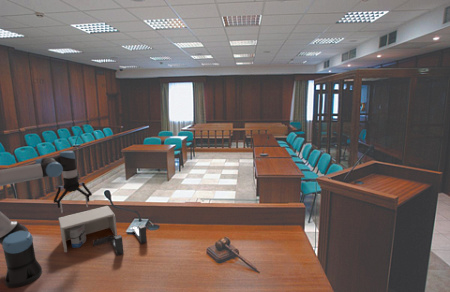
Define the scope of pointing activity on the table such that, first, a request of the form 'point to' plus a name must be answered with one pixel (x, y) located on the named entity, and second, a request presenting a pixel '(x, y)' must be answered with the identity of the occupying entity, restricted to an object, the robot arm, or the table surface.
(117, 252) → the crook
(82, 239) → the ink box
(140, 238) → the plain bar
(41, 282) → the table surface
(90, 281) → the table surface
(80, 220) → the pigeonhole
